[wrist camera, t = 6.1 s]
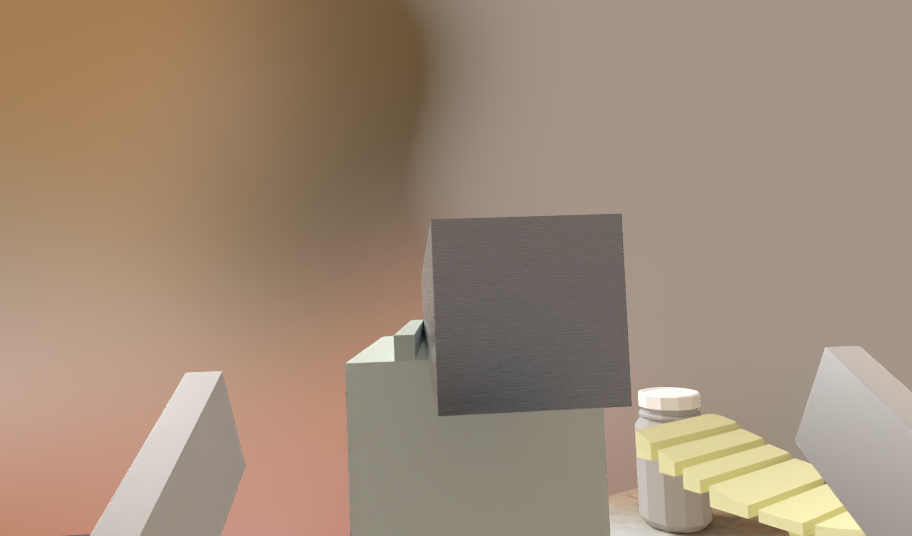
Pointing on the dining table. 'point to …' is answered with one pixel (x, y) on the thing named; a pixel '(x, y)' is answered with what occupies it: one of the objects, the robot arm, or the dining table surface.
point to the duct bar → (526, 314)
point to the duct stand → (464, 457)
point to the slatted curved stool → (746, 475)
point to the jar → (660, 492)
